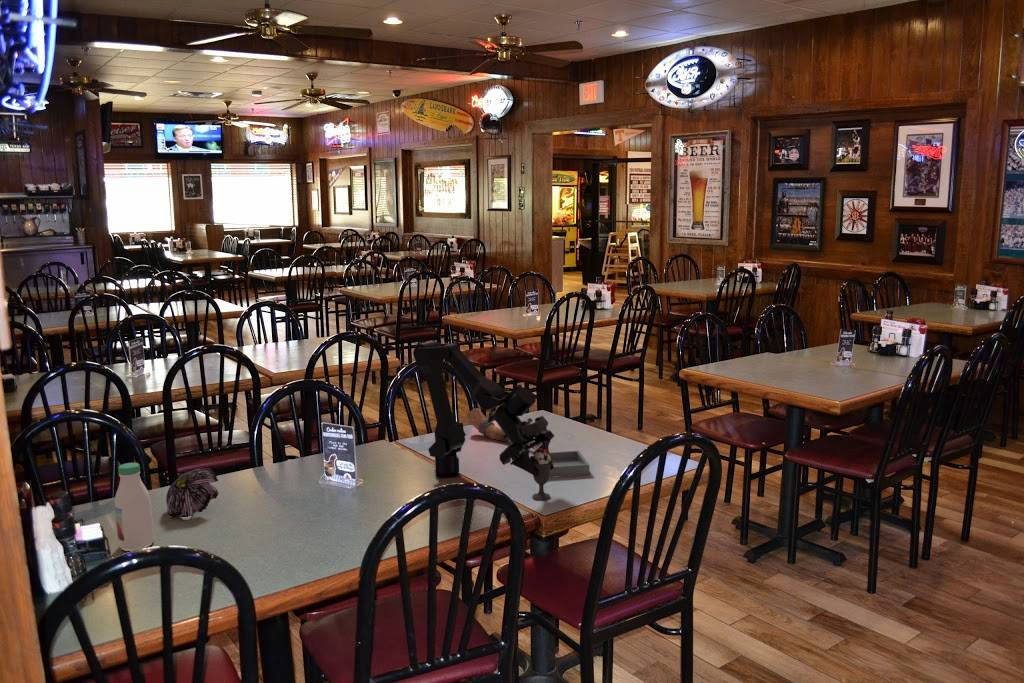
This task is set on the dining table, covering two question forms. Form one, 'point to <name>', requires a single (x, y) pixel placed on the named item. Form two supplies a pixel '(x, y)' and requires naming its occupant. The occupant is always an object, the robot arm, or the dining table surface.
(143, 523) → the milk bottle
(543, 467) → the sundae
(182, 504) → the decorative flower
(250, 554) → the dining table surface
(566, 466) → the tray
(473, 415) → the drinking horn
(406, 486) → the dining table surface
